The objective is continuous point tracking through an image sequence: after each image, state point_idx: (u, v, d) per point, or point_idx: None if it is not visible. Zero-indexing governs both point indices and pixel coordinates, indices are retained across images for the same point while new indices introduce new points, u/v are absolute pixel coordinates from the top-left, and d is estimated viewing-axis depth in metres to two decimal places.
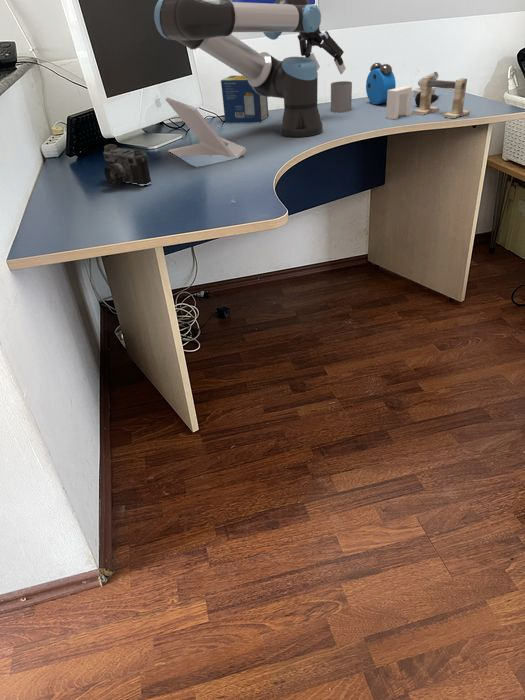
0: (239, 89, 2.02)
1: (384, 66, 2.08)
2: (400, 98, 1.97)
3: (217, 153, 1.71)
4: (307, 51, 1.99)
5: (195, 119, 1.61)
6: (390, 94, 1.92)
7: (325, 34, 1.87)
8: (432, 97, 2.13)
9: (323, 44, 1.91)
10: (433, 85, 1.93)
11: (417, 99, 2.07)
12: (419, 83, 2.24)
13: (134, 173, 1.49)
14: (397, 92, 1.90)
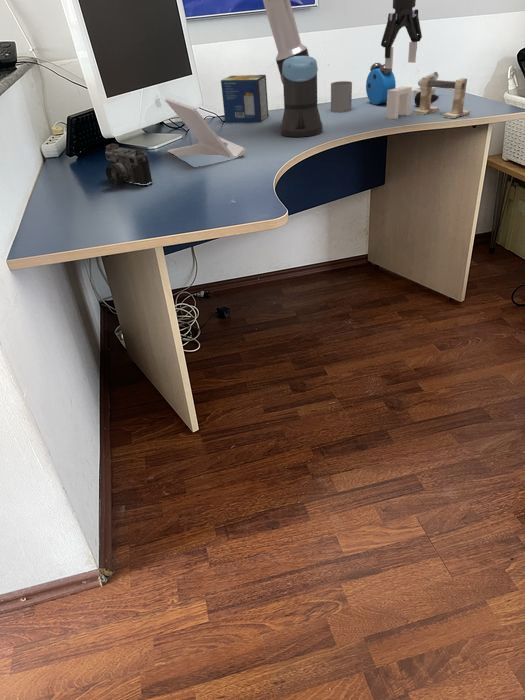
0: (239, 89, 2.02)
1: (384, 66, 2.08)
2: (400, 98, 1.97)
3: (216, 153, 1.71)
4: None
5: (194, 119, 1.61)
6: (390, 94, 1.92)
7: (391, 14, 1.76)
8: (432, 97, 2.13)
9: (393, 26, 1.80)
10: (433, 85, 1.93)
11: (416, 99, 2.08)
12: (419, 83, 2.24)
13: (135, 173, 1.49)
14: (397, 92, 1.90)
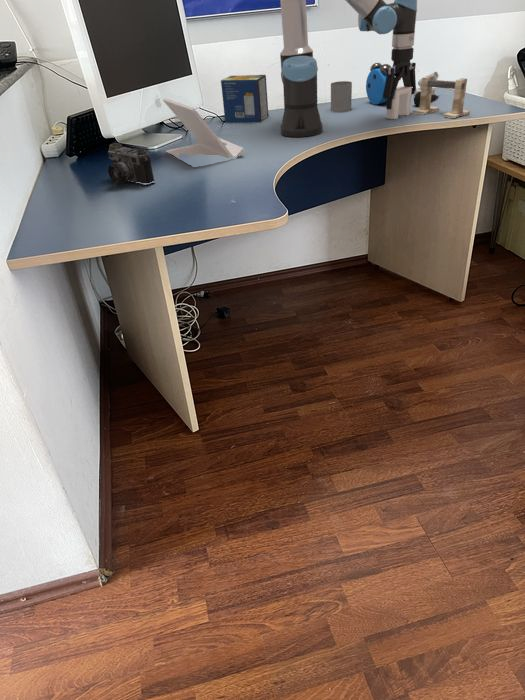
0: (239, 89, 2.02)
1: (384, 66, 2.08)
2: (400, 98, 1.97)
3: (215, 153, 1.71)
4: None
5: (193, 119, 1.61)
6: None
7: (389, 69, 1.85)
8: (431, 97, 2.13)
9: None
10: (433, 85, 1.93)
11: (415, 99, 2.08)
12: (419, 83, 2.24)
13: (137, 172, 1.49)
14: (397, 92, 1.90)
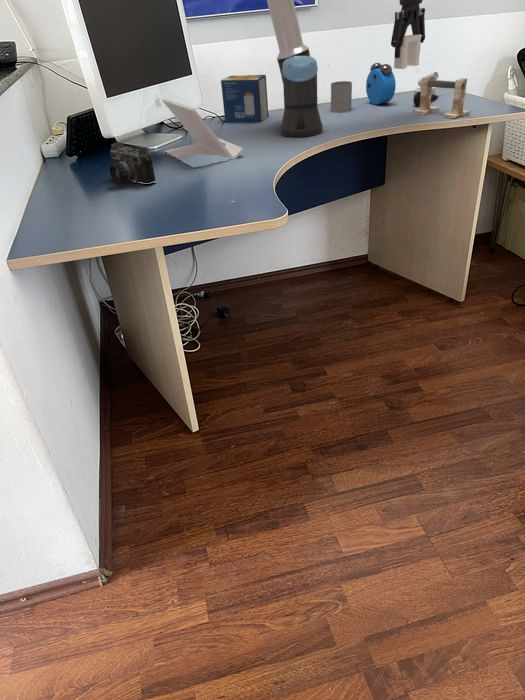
0: (239, 89, 2.02)
1: (384, 66, 2.08)
2: (409, 47, 1.87)
3: (214, 153, 1.71)
4: None
5: (193, 119, 1.61)
6: None
7: (397, 13, 1.76)
8: (431, 97, 2.13)
9: (401, 24, 1.80)
10: (433, 85, 1.93)
11: (415, 99, 2.08)
12: (419, 83, 2.24)
13: (139, 172, 1.50)
14: (406, 39, 1.80)
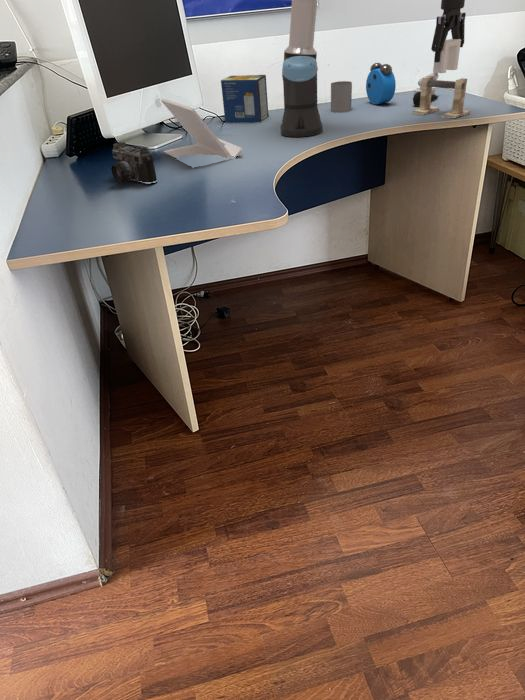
0: (239, 89, 2.02)
1: (384, 66, 2.08)
2: (448, 51, 1.87)
3: (214, 154, 1.71)
4: None
5: (192, 120, 1.61)
6: None
7: (439, 18, 1.76)
8: None
9: None
10: (433, 85, 1.93)
11: (414, 99, 2.08)
12: (419, 83, 2.24)
13: (140, 171, 1.50)
14: (446, 43, 1.80)
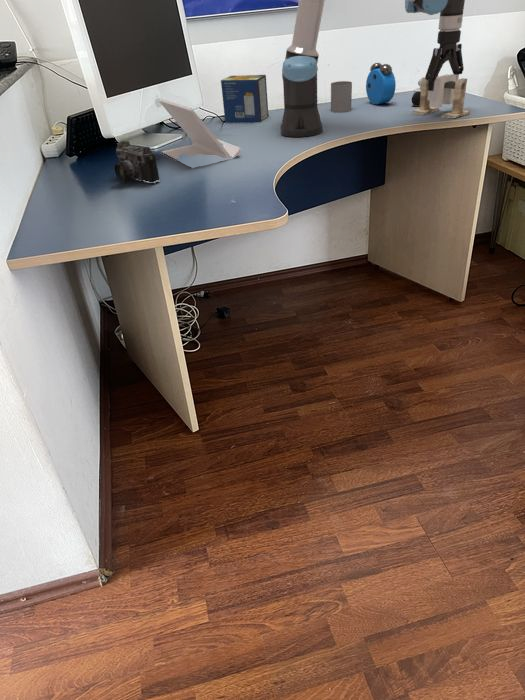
0: (239, 89, 2.02)
1: (384, 66, 2.08)
2: None
3: (212, 154, 1.71)
4: None
5: (190, 120, 1.61)
6: None
7: (436, 49, 1.81)
8: None
9: None
10: None
11: (413, 99, 2.09)
12: (419, 83, 2.24)
13: (143, 171, 1.50)
14: (442, 80, 1.87)
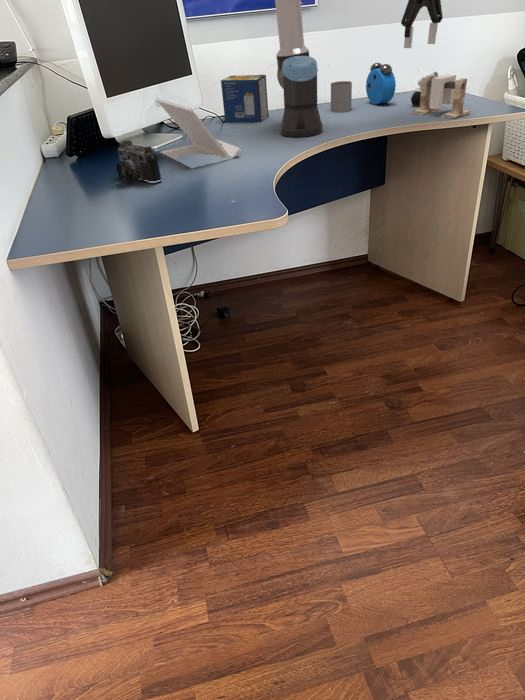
0: (239, 89, 2.02)
1: (384, 66, 2.08)
2: None
3: (211, 154, 1.71)
4: None
5: (190, 120, 1.61)
6: (435, 82, 1.88)
7: None
8: None
9: (414, 5, 1.80)
10: None
11: (412, 98, 2.09)
12: (419, 83, 2.24)
13: (144, 170, 1.50)
14: (442, 80, 1.87)
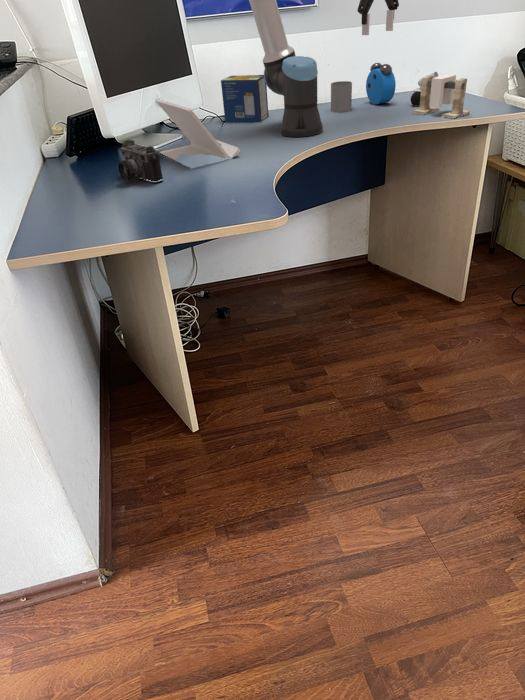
0: (239, 89, 2.02)
1: (384, 66, 2.08)
2: None
3: (210, 154, 1.71)
4: None
5: (189, 120, 1.61)
6: (435, 82, 1.88)
7: None
8: None
9: None
10: None
11: (411, 98, 2.09)
12: (419, 83, 2.24)
13: (146, 170, 1.51)
14: (442, 80, 1.87)
